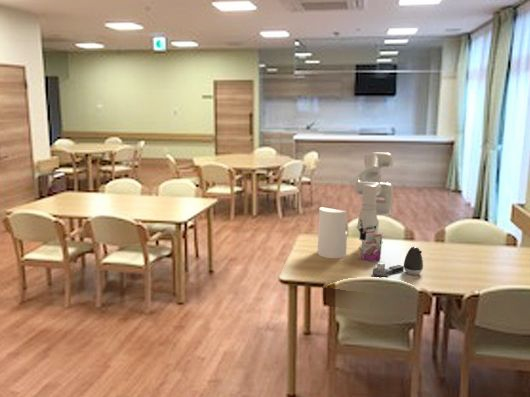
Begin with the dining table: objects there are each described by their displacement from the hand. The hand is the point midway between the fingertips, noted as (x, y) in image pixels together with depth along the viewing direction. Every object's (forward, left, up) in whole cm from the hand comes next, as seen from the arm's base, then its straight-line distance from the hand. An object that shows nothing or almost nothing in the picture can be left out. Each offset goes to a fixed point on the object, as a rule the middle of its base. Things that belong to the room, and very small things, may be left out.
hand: (366, 238), depth 277 cm
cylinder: (-2, -31, -18) cm, 35 cm away
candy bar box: (-15, -11, -18) cm, 26 cm away
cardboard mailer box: (0, 0, -1) cm, 1 cm away
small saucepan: (-6, +11, -18) cm, 22 cm away
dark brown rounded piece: (-18, +18, -18) cm, 32 cm away
